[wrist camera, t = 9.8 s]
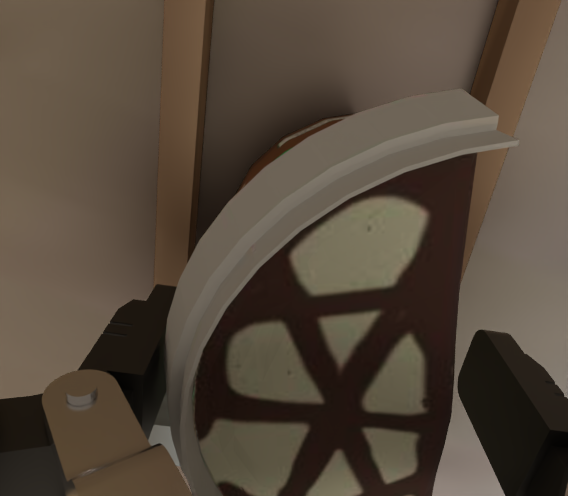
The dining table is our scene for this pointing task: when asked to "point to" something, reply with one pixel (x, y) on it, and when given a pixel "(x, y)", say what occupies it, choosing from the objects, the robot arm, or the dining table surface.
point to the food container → (330, 308)
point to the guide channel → (191, 117)
